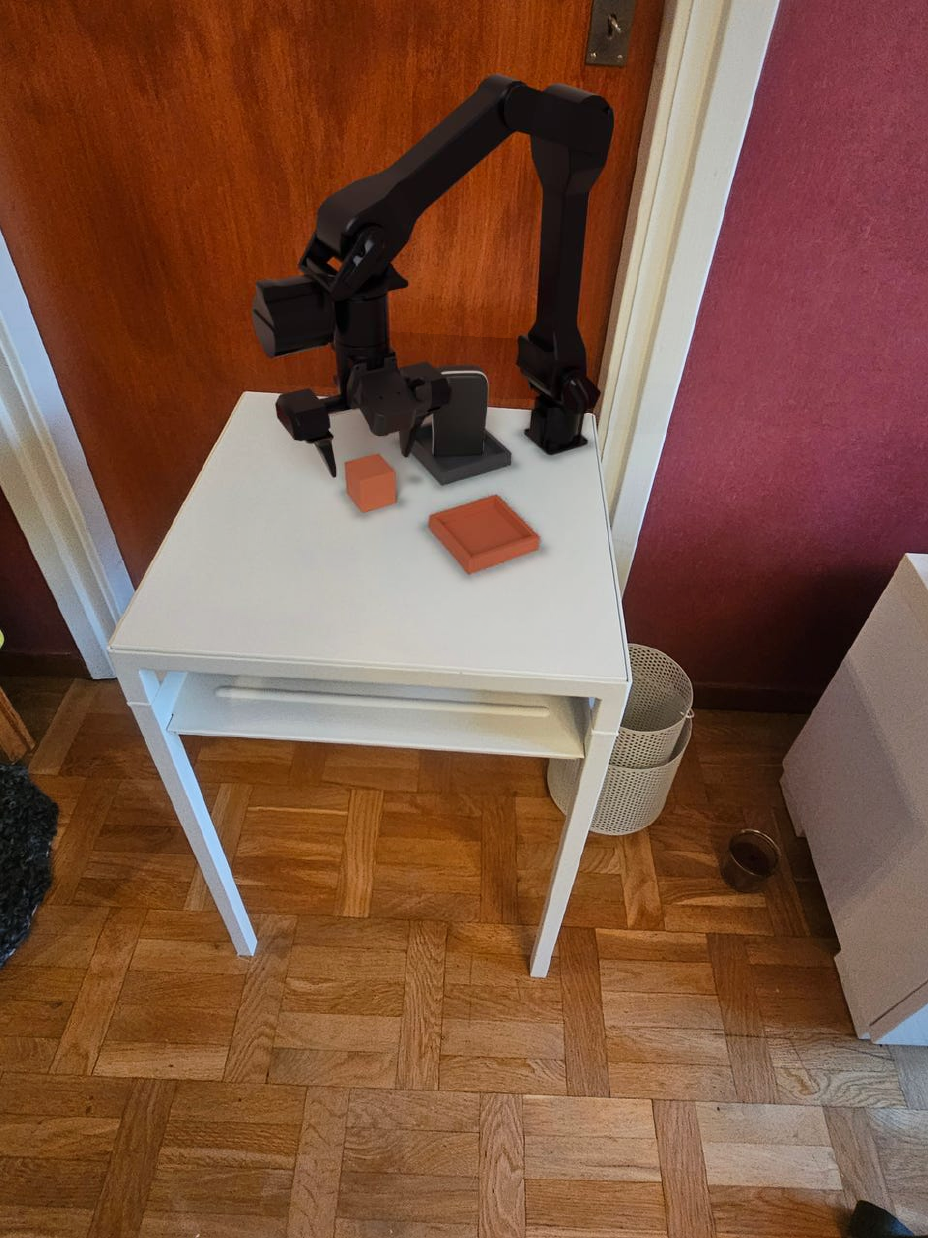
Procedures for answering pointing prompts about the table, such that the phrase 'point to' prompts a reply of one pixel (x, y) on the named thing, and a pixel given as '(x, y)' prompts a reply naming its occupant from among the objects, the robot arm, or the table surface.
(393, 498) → the terracotta block
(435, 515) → the terracotta tray
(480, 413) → the battery charger
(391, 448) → the table surface
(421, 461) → the charcoal tray
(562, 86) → the robot arm
